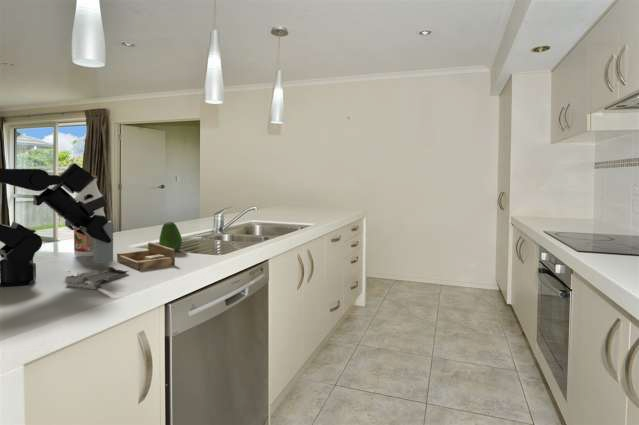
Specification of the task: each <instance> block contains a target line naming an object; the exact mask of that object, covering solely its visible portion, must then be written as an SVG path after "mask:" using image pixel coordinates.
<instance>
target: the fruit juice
mask: <svg viewBox="0 0 639 425" xmlns="http://www.w3.org/2000/svg"><path fill="white" fill-rule="evenodd" d="M92 176H93V177H94V180H93V181H92V182H91V183H90V184H89V185H88V186H87V187H86V188H84V189H83V190H82V191H81V192H80V193H76V195H75V196H74V197H73V198H74V199H75V200H77V201H81V202H82V201H83V200H84V195H87V194H92V195H93V196H95V195H102V193H101V192H100V190H99V188H98V184H97V183H98V182H97V181H98V175H92ZM104 208H105V207H102V208H100V209H97V210H95V211H93V212H95V214H93V215H92V216H91V217H93V216H94V215H103V216H105V217H106V213H105V211H104ZM73 228H74V230H73V247H74V248H73V253H74V257H75V258H79V257H93V238H92V237H89V236H86V235H83V234H80V233H77V232H76V231H77V230H78V229H77V228H75V227H73Z"/></svg>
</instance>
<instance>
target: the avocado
mask: <svg viewBox="0 0 639 425" xmlns="http://www.w3.org/2000/svg"><path fill="white" fill-rule="evenodd" d="M182 240H183V239H182V236H181V232H180V230H179V228H178V226H177V225H176V224H175V222H173V221H168V222H164V224H163V225H162V227H161V230H160V235H159V243H158V245H162V246H165V247H168V248H172V249H175V253H178V252H179V251H180V249H181V248H182V244H183V241H182Z"/></svg>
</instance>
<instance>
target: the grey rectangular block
mask: <svg viewBox="0 0 639 425" xmlns="http://www.w3.org/2000/svg"><path fill="white" fill-rule="evenodd" d="M103 228H104V230H105V231H106V233H107V234H108V236H109V237H110V239H111V242H110V243H106V242H104V241H101V240H98V239H95V238H93V256H92V262H93V263H95V264H103V263H111V262H114V221H111V220H109V221H108V223H107V224H105V225H104V226H103Z"/></svg>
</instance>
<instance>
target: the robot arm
mask: <svg viewBox="0 0 639 425" xmlns="http://www.w3.org/2000/svg"><path fill="white" fill-rule="evenodd" d="M93 176H94V175H92V174H91V173H90V172H89V171H88V170H86V169H85V168H84V167H81V166H79V165H78V164H77V163H75V162H74V163H71V164H69V165H68V167H66V169H65V170H64V171H62V172H61V173H60V174H59V175H58V174H49V173H48V172H47V171H46V170H44V169H42V168H2V167H0V184H1V183H2V184H5V185H9V186H13V187H16V188H20V189H25V190H29V191H34V192H41V193H40V194H32V198H33V201H32V205H33V206H36V207H37V206H41V205H42V204H43V203H44V204H45V205H46V206H48V207H49V208H50V209H51V210H52V211H54V212H55V213H56V214H57V216H59V217H60V218H63V220H65V221H64V226H65V227H66V228H67V229H69V230H70V231H74V227H75V228H77V229H78V230H77V231H76V232H77V233H80V234H83V235H86V236H89V237H92V238H95V239H98V240H101V241H104V242H106V243H110V242H111V239H110V237H109V236H108V234H107V233H106V231H105V230H104V228H103V226H104V225H105V224H107V223H108V221H110V220H109V219H108V218H107V217H106V215H105V216H103V215H94V216H93V217H91V216H92V215H93V214H95V212H93V211H95V210H97V209H100V208H102V207H104V208H105V207H107V206H109V204H108V202H107V200H106V198H105V196H104V195H103V194H101V195H95V196H93V195H92V194H87V195H84V200H83V201H82V202H81V201H77V200H75V199H74V198H75V197H73V196H72V195H71V194H74V193H76V194H78V193H80V192H81V191H82V190H83V189H84V188H86V187H87V186H88V185H89V184H90V183H91V182H92V181H93V180H94V177H93ZM50 186H53V187H51V188H49V187H50ZM0 242H1V243H3V244H4V245H3V246H1V247H0V257H1V260H0V287H11V286H13V287H14V286H27V285H30V284H31V283H32V282H34V281H35V280H36V279H37V265H36V262H34V257H35V255H36V253H37V252H38V251H39V250H41V248H42V245H43V239H42V237H41V236H40V235H39V234H37V230H35V229H34V228H31V227H25V226H24V225H22V224H20V223H18V222H15V221H12V222H11V225H6V224H2V223H0Z"/></svg>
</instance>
